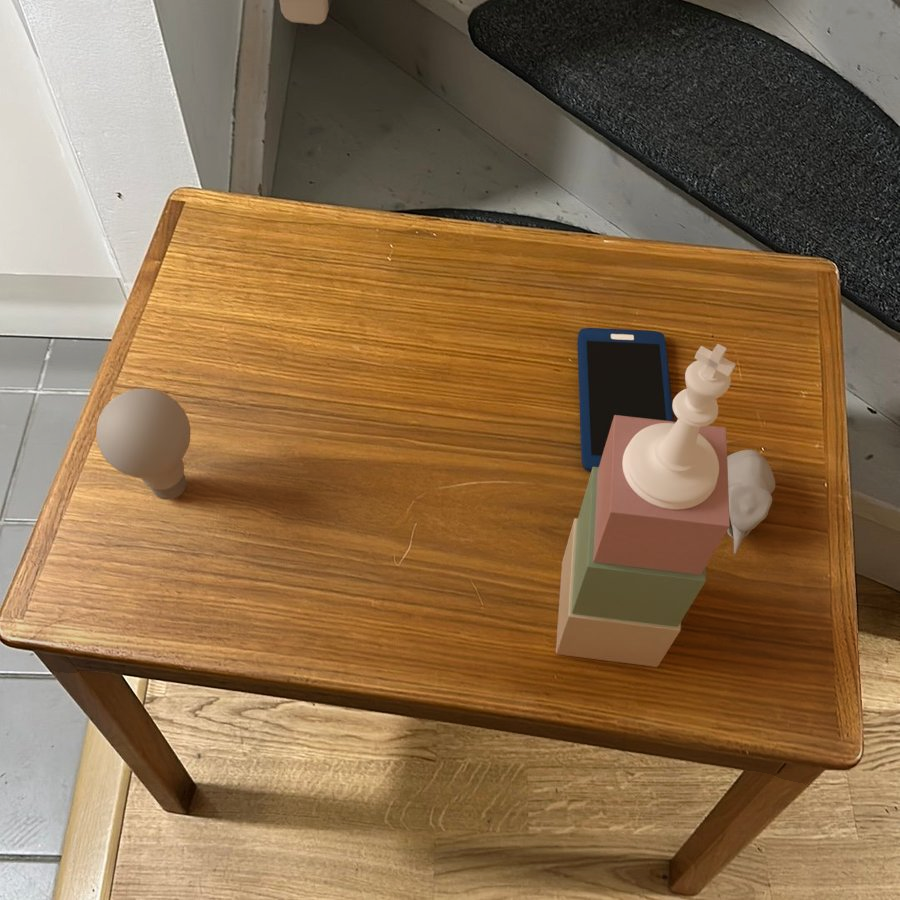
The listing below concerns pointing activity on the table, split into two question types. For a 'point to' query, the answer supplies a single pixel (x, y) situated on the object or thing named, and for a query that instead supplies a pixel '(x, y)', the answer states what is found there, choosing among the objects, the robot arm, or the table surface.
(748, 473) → the figurine
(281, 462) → the table surface
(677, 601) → the block stack
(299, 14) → the robot arm
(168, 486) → the lightbulb
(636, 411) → the cell phone
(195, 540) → the table surface
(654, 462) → the chess piece
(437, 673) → the table surface
